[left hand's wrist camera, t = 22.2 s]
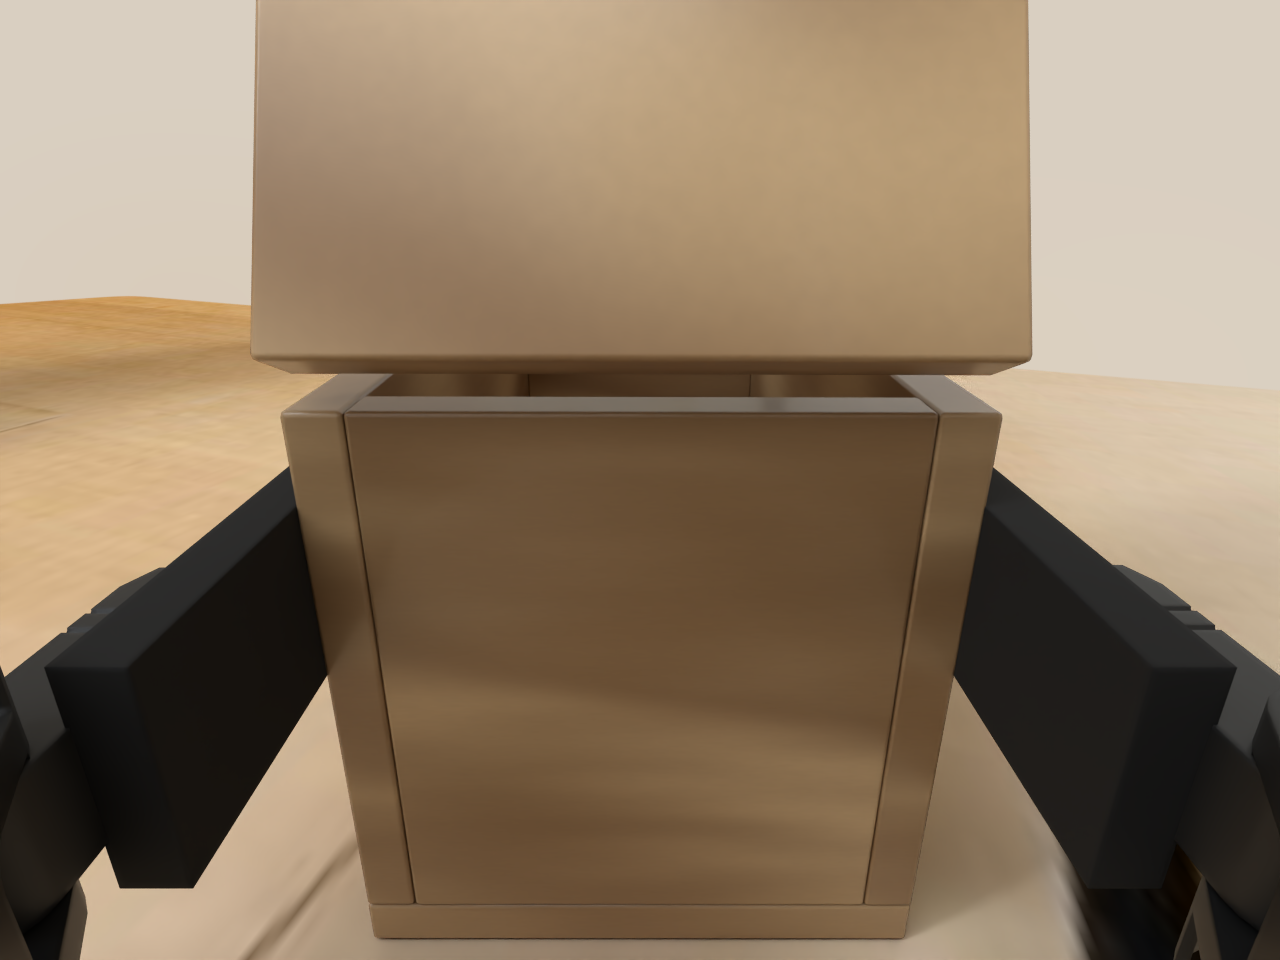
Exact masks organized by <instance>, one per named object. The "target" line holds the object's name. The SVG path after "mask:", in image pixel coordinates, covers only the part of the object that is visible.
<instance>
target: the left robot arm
mask: <svg viewBox="0 0 1280 960" xmlns="http://www.w3.org/2000/svg"><path fill="white" fill-rule="evenodd" d="M326 676H327V671H326V665H325V660H324V654H323V649H322V643H321V638H320V632H319V627H318V621H317V616H316V610H315V605H314V599H313V594H312V588H311V583H310V577H309V572H308V566H307V561H306V555H305V550H304V544H303V539H302V533H301V528H300V522H299V516H298V511H297V505H296V500H295V494H294V489H293V483H292V478H291V472H290V467H288V468H286V469H285V470H284V471H283V472H281V473H280V474H279V475H278V476H277V477H275V478H274V479H273V480H272V481H270V482H269V483H268V484H267V485H266V486H264V487H263V488H262V489H261V490H259V491H258V492H257V493H256V494H255V495H253V496H252V497H251V498H250V499H249V500H247V501H246V502H245V503H244V504H242V505H241V506H240V507H239V508H238V509H236V510H235V511H234V512H233V513H231V514H230V515H229V516H228V517H227V518H225V519H224V520H223V521H222V522H220V523H219V524H218V525H217V526H216V527H214V528H213V529H212V530H211V531H209V532H208V533H207V534H206V535H205V536H203V537H202V538H201V539H200V540H199V541H197V542H196V543H195V544H194V545H192V546H191V547H190V548H189V549H188V550H186V551H185V552H184V553H183V554H181V555H180V556H179V557H178V558H177V559H175V560H174V561H173V562H172V563H170V564H169V565H168V566H167V567H166V568H158V569H156V570H154V571H151V572H149V573H147V574H145V575H143V576H141V577H139V578H137V579H135V580H133V581H131V582H129V583H127V584H124V585H122V586H120V587H119V588H118V589H116V590H115V591H114V592H112V593H111V594H110V595H109V596H107V597H106V598H105V599H104V600H102V601H101V602H100V603H98V604H97V605H96V606H95V607H93V608H92V609H91V614H84V615H83V616H82V617H81V618H79V619H78V620H77V621H76V622H74V623H73V624H72V625H70V626H69V627H68V628H67V633H60V634H59V635H58V636H56V637H55V638H54V639H53V640H51V641H50V642H49V643H48V644H46V645H45V646H44V647H42V648H41V649H40V650H39V651H37V652H36V653H35V654H34V655H32V656H31V657H30V658H28V659H27V660H26V661H25V662H23V663H22V664H21V665H19V666H18V667H17V668H16V669H14V670H13V671H12V672H11V673H9V674H8V675H7V676H5V677H4V675H3V672H2V670H1V667H0V960H80V954H81V948H82V942H83V936H84V931H85V925H86V919H87V906H86V899H85V895H84V892H83V889H82V887H81V884H80V881H79V878H80V877H81V875H82V874H83V873H84V872H85V870H86V869H87V868H88V867H89V865H90V864H91V863H92V862H93V860H94V859H95V858H96V857H97V855H98V854H99V853H100V852H101V850H102V849H103V848H104V847H106V849H107V852H108V855H109V858H110V861H111V864H112V867H113V870H114V873H115V876H116V879H117V881H118V884H119V887H120V888H194V886H195V885H196V883H197V881H198V880H199V878H200V877H201V875H202V873H203V872H204V870H205V869H206V867H207V866H208V864H209V862H210V861H211V859H212V858H213V856H214V854H215V853H216V851H217V850H218V848H219V846H220V845H221V843H222V842H223V840H224V838H225V837H226V835H227V834H228V832H229V831H230V829H231V827H232V826H233V824H234V823H235V821H236V819H237V818H238V816H239V815H240V813H241V811H242V810H243V808H244V807H245V805H246V804H247V802H248V800H249V799H250V797H251V796H252V794H253V792H254V791H255V789H256V788H257V786H258V784H259V783H260V781H261V780H262V778H263V776H264V775H265V773H266V772H267V770H268V769H269V767H270V765H271V764H272V762H273V761H274V759H275V757H276V756H277V754H278V753H279V751H280V749H281V748H282V746H283V745H284V743H285V742H286V740H287V738H288V737H289V735H290V734H291V732H292V730H293V729H294V727H295V726H296V724H297V722H298V721H299V719H300V718H301V716H302V715H303V713H304V711H305V710H306V708H307V707H308V705H309V703H310V702H311V700H312V699H313V697H314V695H315V694H316V692H317V691H318V689H319V687H320V686H321V684H322V683H323V681H324V680H325V678H326ZM954 677H955V678H956V680H957V681H958V683H959V685H960V686H961V688H962V689H963V691H964V692H965V694H966V696H967V697H968V699H969V700H970V702H971V704H972V705H973V707H974V708H975V710H976V712H977V713H978V715H979V716H980V718H981V719H982V721H983V723H984V724H985V726H986V727H987V729H988V731H989V732H990V734H991V735H992V737H993V739H994V740H995V742H996V743H997V745H998V746H999V748H1000V750H1001V751H1002V753H1003V754H1004V756H1005V758H1006V759H1007V761H1008V762H1009V764H1010V766H1011V767H1012V769H1013V770H1014V772H1015V773H1016V775H1017V777H1018V778H1019V780H1020V781H1021V783H1022V785H1023V786H1024V788H1025V789H1026V791H1027V793H1028V794H1029V796H1030V797H1031V799H1032V800H1033V802H1034V804H1035V805H1036V807H1037V808H1038V810H1039V812H1040V813H1041V815H1042V816H1043V818H1044V820H1045V821H1046V823H1047V824H1048V826H1049V827H1050V829H1051V831H1052V832H1053V834H1054V835H1055V837H1056V839H1057V840H1058V842H1059V843H1060V845H1061V847H1062V848H1063V850H1064V851H1065V853H1066V855H1067V856H1068V858H1069V859H1070V861H1071V862H1072V864H1073V866H1074V867H1075V869H1076V870H1077V872H1078V874H1079V875H1080V877H1081V878H1082V880H1083V882H1084V883H1085V885H1086V886H1087V888H1088V889H1161V888H1162V885H1163V882H1164V879H1165V876H1166V873H1167V870H1168V867H1169V865H1170V862H1171V859H1172V856H1173V853H1174V850H1175V847H1176V844H1178V845H1179V846H1180V847H1181V849H1182V850H1183V851H1184V852H1185V854H1186V855H1187V856H1188V857H1189V859H1190V860H1191V861H1192V862H1193V863H1194V865H1195V866H1196V867H1197V868H1198V870H1199V871H1200V872H1201V873H1202V875H1203V876H1202V878H1201V881H1200V884H1199V887H1198V889H1197V892H1196V895H1195V897H1194V900H1193V903H1192V906H1191V908H1190V911H1189V914H1188V916H1187V919H1186V922H1185V925H1184V927H1183V930H1182V933H1181V935H1180V938H1179V941H1178V944H1177V946H1176V949H1175V955H1174V960H1190V959H1191V956H1192V954H1193V952H1195V951H1197V950H1199V951H1200V957H1201V960H1280V675H1278V674H1277V673H1276V672H1275V671H1273V670H1272V669H1271V668H1269V667H1268V666H1267V665H1266V664H1264V663H1263V662H1262V661H1260V660H1259V659H1258V658H1257V657H1255V656H1254V655H1253V654H1251V653H1250V652H1249V651H1248V650H1246V649H1245V648H1244V647H1242V646H1241V645H1240V644H1239V643H1237V642H1236V641H1235V640H1233V639H1232V638H1231V637H1230V636H1228V635H1227V634H1226V633H1224V632H1223V631H1222V630H1215V625H1214V624H1213V623H1212V622H1210V621H1209V620H1208V619H1206V618H1205V617H1204V616H1203V615H1201V614H1200V613H1199V612H1197V611H1191V606H1190V605H1188V604H1187V603H1186V602H1185V601H1183V600H1182V599H1181V598H1179V597H1178V596H1177V595H1176V594H1174V593H1173V592H1172V591H1170V590H1169V589H1168V588H1167V587H1165V586H1164V585H1163V584H1161V583H1159V582H1157V581H1155V580H1153V579H1150V578H1148V577H1146V576H1144V575H1142V574H1140V573H1138V572H1136V571H1134V570H1132V569H1130V568H1127V567H1125V566H1123V565H1112V564H1111V563H1109V562H1108V561H1107V560H1106V559H1104V558H1103V557H1102V556H1101V555H1100V554H1098V553H1097V552H1096V551H1095V550H1093V549H1092V548H1091V547H1090V546H1089V545H1087V544H1086V543H1085V542H1084V541H1082V540H1081V539H1080V538H1079V537H1078V536H1076V535H1075V534H1074V533H1073V532H1071V531H1070V530H1069V529H1068V528H1067V527H1065V526H1064V525H1063V524H1062V523H1060V522H1059V521H1058V520H1057V519H1056V518H1054V517H1053V516H1052V515H1051V514H1050V513H1048V512H1047V511H1046V510H1045V509H1043V508H1042V507H1041V506H1040V505H1039V504H1037V503H1036V502H1035V501H1034V500H1032V499H1031V498H1030V497H1029V496H1028V495H1026V494H1025V493H1024V492H1023V491H1021V490H1020V489H1019V488H1018V487H1017V486H1015V485H1014V484H1013V483H1012V482H1010V481H1009V480H1008V479H1007V478H1006V477H1004V476H1003V475H1002V474H1001V473H999V472H998V471H997V470H996V469H995V468H993V470H992V475H991V481H990V486H989V491H988V497H987V502H986V507H985V509H984V515H983V520H982V525H981V531H980V536H979V541H978V547H977V552H976V558H975V563H974V568H973V574H972V579H971V584H970V590H969V595H968V601H967V606H966V611H965V617H964V622H963V627H962V633H961V638H960V644H959V649H958V654H957V660H956V665H955V670H954Z"/></svg>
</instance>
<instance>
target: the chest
mask: <svg viewBox="0 0 1280 960" xmlns="http://www.w3.org/2000/svg"><path fill="white" fill-rule="evenodd" d="M281 423H282V428H283V434H284V439H285V445H286V450H287V456H288V461H289V467H290V472H291V478H292V483H293V489H294V494H295V500H296V505H297V511H298V516H299V522H300V528H301V533H302V539H303V544H304V550H305V555H306V561H307V566H308V572H309V577H310V583H311V588H312V594H313V599H314V605H315V610H316V616H317V621H318V627H319V632H320V638H321V643H322V649H323V654H324V660H325V665H326V671H327V676H328V682H329V687H330V693H331V698H332V704H333V709H334V715H335V720H336V726H337V731H338V737H339V743H340V748H341V754H342V759H343V765H344V770H345V776H346V781H347V787H348V792H349V798H350V803H351V809H352V814H353V820H354V825H355V831H356V836H357V842H358V847H359V853H360V858H361V864H362V869H363V875H364V880H365V886H366V891H367V897H368V902H369V903H370V904H369V909H370V915H371V920H372V926H373V931H374V936H375V937H377V938H903V937H904V935H905V930H906V925H907V919H908V914H909V908H910V905H909V904H910V903H911V899H912V894H913V889H914V883H915V878H916V873H917V867H918V862H919V857H920V852H921V846H922V841H923V836H924V830H925V825H926V820H927V815H928V809H929V804H930V799H931V793H932V788H933V783H934V777H935V772H936V767H937V762H938V756H939V751H940V746H941V740H942V735H943V730H944V724H945V719H946V714H947V709H948V703H949V698H950V693H951V687H952V682H953V677H954V670H955V665H956V660H957V654H958V649H959V644H960V638H961V633H962V627H963V622H964V617H965V611H966V606H967V601H968V595H969V590H970V584H971V579H972V574H973V568H974V563H975V558H976V552H977V547H978V541H979V536H980V531H981V525H982V520H983V515H984V509H985V507H986V502H987V497H988V491H989V486H990V481H991V475H992V470H993V465H994V460H995V454H996V449H997V444H998V438H999V433H1000V428H1001V423H1002V414H1001V413H1000V412H998V411H997V410H995V409H994V408H992V407H991V406H989V405H988V404H986V403H985V402H983V401H981V400H980V399H978V398H977V397H975V396H974V395H972V394H971V393H969V392H968V391H966V390H965V389H963V388H962V387H960V386H959V385H957V384H956V383H954V382H953V381H951V380H950V379H948V378H947V377H945V376H944V375H690V374H338V375H336V376H335V377H333V378H332V379H330V380H329V381H327V382H326V383H324V384H323V385H321V386H320V387H318V388H317V389H315V390H314V391H312V392H311V393H309V394H308V395H307V396H305V397H304V398H302V399H301V400H299V401H298V402H296V403H295V404H293V405H292V406H290V407H289V408H287V409H286V410H284V411H283V412H282V413H281Z"/></svg>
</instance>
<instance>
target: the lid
mask: <svg viewBox="0 0 1280 960" xmlns="http://www.w3.org/2000/svg"><path fill="white" fill-rule="evenodd" d="M1029 125H1030V124H1029V40H1028V0H256V36H255V99H254V162H253V226H252V289H251V351H250V353H251V356H252V358H253V359H254V360H256V361H259V362H262V363H264V364H267V365H270V366H273V367H275V368H278V369H281V370H283V371H286V372H289V373H292V374H690V375H993V374H995V373H998V372H1001V371H1004V370H1007V369H1009V368H1012V367H1015V366H1018V365H1021V364H1023V363H1026V362H1028V361H1030V360H1031V357H1032V295H1031V294H1032V293H1031V209H1030V126H1029Z"/></svg>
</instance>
